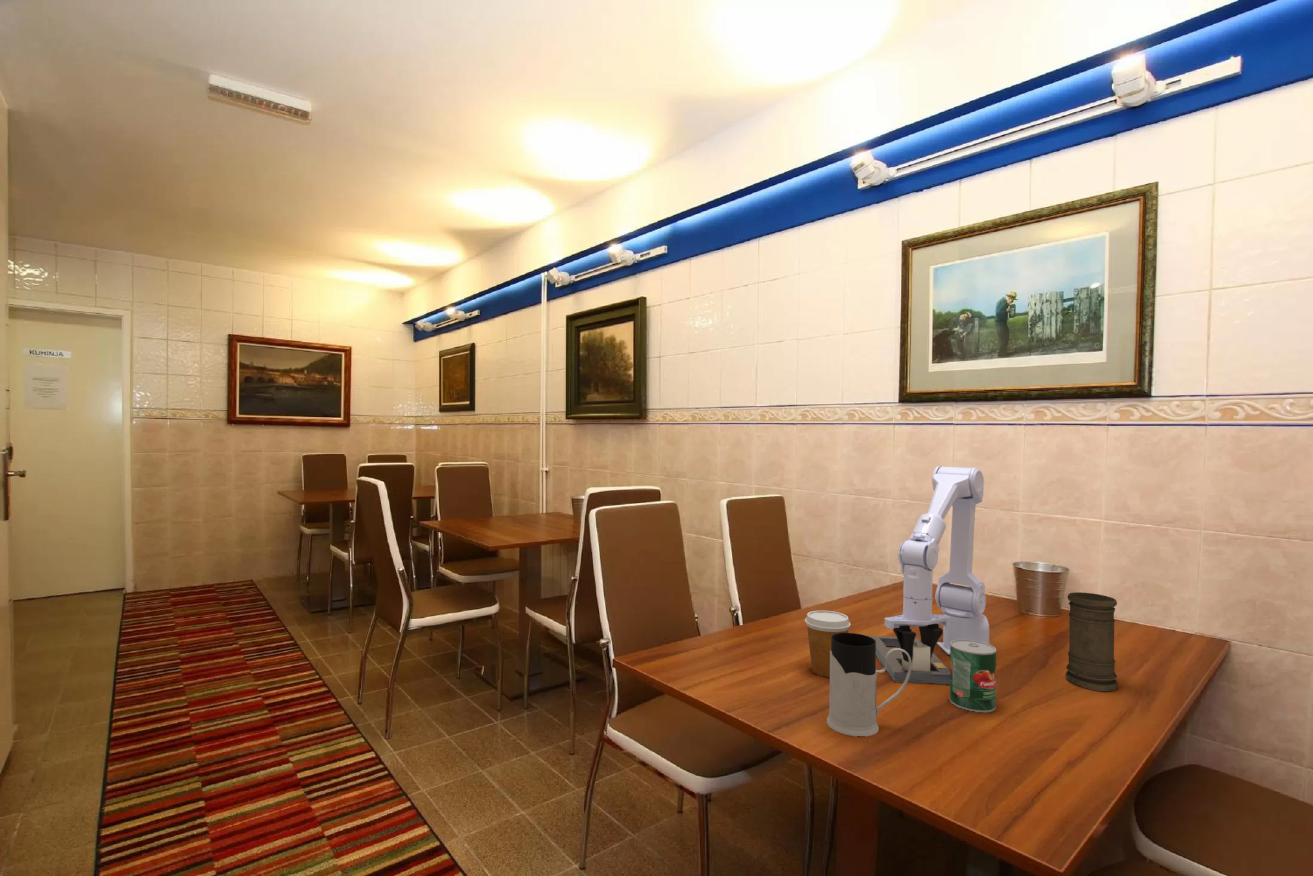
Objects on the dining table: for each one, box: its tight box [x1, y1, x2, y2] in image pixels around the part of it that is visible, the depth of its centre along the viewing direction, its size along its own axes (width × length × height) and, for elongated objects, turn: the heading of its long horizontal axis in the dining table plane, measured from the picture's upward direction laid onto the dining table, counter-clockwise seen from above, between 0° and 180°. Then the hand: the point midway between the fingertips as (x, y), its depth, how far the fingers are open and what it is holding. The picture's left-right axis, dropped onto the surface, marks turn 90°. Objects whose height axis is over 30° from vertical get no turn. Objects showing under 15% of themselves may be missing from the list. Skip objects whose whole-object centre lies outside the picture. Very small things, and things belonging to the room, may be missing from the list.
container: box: [1065, 591, 1119, 692], centre depth 129 cm, size 9×9×18 cm
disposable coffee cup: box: [804, 610, 851, 678], centre depth 134 cm, size 10×10×12 cm
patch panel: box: [868, 635, 950, 685], centre depth 140 cm, size 12×24×2 cm, turn 174°
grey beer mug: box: [826, 632, 911, 737], centre depth 109 cm, size 9×14×15 cm, turn 84°
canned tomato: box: [949, 640, 997, 714], centre depth 118 cm, size 8×8×11 cm
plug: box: [902, 639, 930, 671], centre depth 133 cm, size 4×4×7 cm
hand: (916, 660), depth 133 cm, fingers closed on plug, 4 cm apart
